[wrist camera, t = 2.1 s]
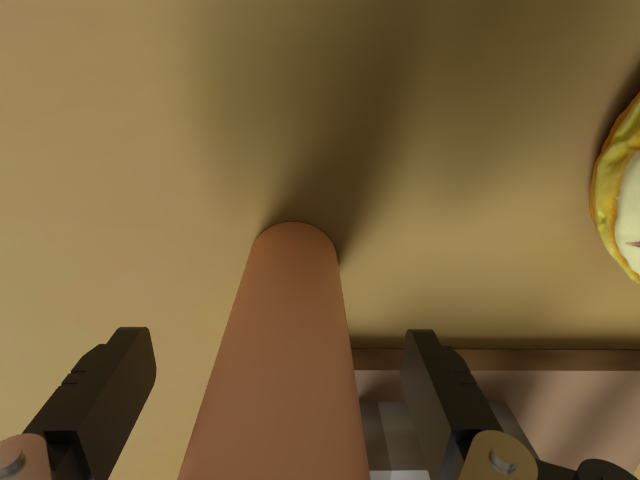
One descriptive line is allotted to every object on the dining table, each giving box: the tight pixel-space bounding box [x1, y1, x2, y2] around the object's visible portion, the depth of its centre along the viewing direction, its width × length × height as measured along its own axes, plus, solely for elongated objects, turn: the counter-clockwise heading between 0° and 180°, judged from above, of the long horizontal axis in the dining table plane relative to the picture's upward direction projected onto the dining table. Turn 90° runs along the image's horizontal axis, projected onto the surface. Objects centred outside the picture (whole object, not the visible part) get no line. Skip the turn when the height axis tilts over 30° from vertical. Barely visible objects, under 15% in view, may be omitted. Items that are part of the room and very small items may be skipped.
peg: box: [177, 222, 371, 480], centre depth 11 cm, size 4×4×12 cm
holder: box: [351, 349, 640, 480], centre depth 19 cm, size 20×12×5 cm, turn 88°
